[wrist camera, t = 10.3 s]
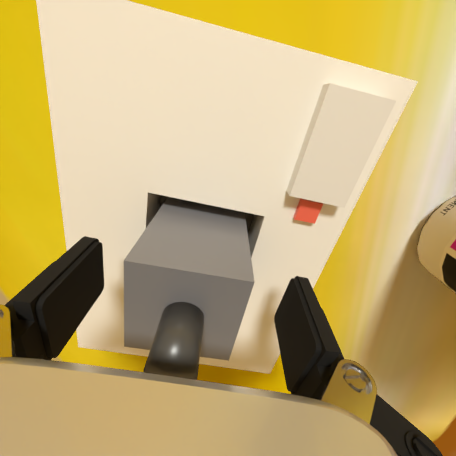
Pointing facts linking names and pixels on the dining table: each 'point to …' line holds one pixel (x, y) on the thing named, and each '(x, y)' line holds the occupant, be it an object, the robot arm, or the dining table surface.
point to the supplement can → (440, 244)
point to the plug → (187, 286)
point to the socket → (206, 146)
